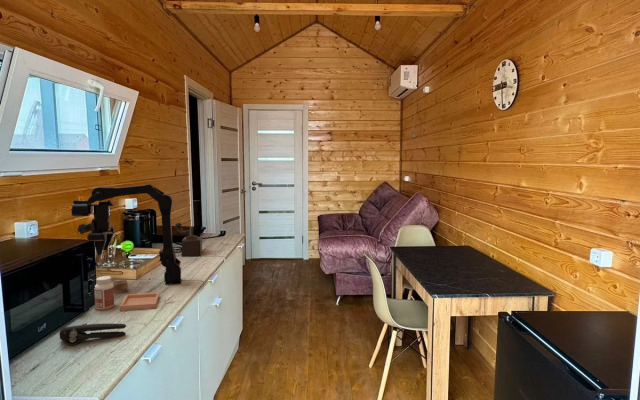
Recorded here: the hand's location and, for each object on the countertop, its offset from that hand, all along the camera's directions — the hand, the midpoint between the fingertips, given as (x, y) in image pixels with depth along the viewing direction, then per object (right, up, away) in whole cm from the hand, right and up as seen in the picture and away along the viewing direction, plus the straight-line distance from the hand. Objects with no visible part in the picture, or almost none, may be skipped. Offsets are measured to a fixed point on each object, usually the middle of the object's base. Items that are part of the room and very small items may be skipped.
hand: (102, 252), depth 161 cm
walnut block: (+10, -16, -4) cm, 19 cm away
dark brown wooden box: (+15, -9, +59) cm, 62 cm away
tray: (+24, -17, -16) cm, 33 cm away
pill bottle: (+12, -17, -20) cm, 30 cm away
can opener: (+23, -21, -45) cm, 55 cm away
